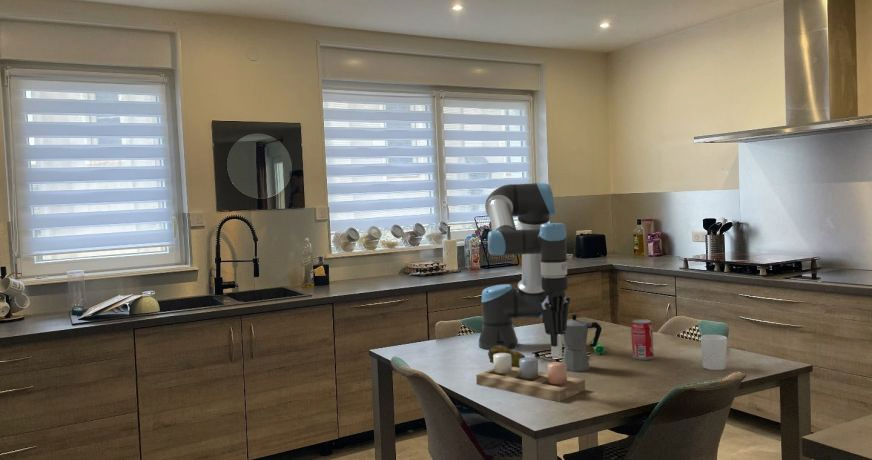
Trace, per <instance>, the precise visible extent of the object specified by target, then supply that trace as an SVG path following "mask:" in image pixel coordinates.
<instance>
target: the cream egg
mask: <svg viewBox="0 0 872 460" xmlns="http://www.w3.org/2000/svg"><path fill="white" fill-rule="evenodd" d="M493 363H494V364H493ZM493 363H492V364H493V369H494V372H496V373H509V372H511V371H512V364H511V354H508V353H497V354H494V355H493Z"/></svg>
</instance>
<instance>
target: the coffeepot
mask: <svg viewBox="0 0 872 460" xmlns="http://www.w3.org/2000/svg"><path fill="white" fill-rule="evenodd" d="M577 315H578V314H576V313H575V314H571V319H570V320H567V326H566V331H563V332H565V334H562V343H564V349H563V352H562V362H563V363H566V364H567V372H584V371H588V370H589V369H590V368H591V367H590V363H589V356H588V352H587V349H586V344H587V342H588V341H587V340H588V333H589V329H593V328H594V329H596V330H595V333H594V337H593V339H594V342H593V344H590V343H589V347H591V348H593V347H596V345H597V342H598V340H599V339H600V337H601V333H602V330H603V328H602V326H601V325H600V324H599V323H598V322H597V321H594V322H593V321H583V320H579V319H577V317H578V316H577Z"/></svg>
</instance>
